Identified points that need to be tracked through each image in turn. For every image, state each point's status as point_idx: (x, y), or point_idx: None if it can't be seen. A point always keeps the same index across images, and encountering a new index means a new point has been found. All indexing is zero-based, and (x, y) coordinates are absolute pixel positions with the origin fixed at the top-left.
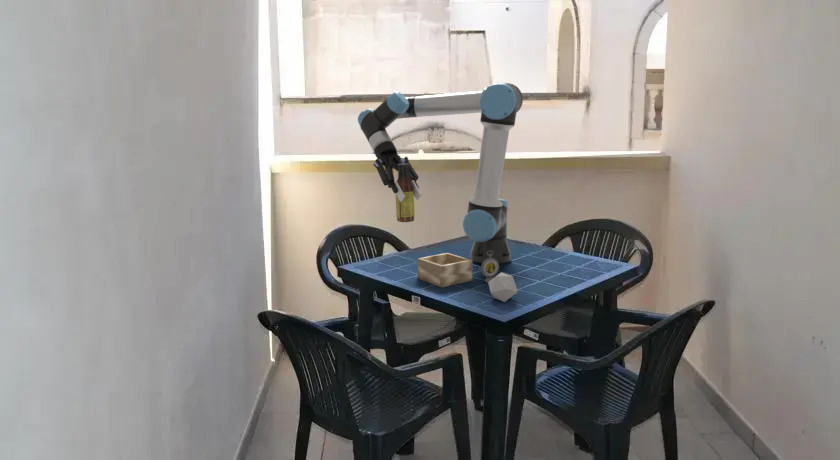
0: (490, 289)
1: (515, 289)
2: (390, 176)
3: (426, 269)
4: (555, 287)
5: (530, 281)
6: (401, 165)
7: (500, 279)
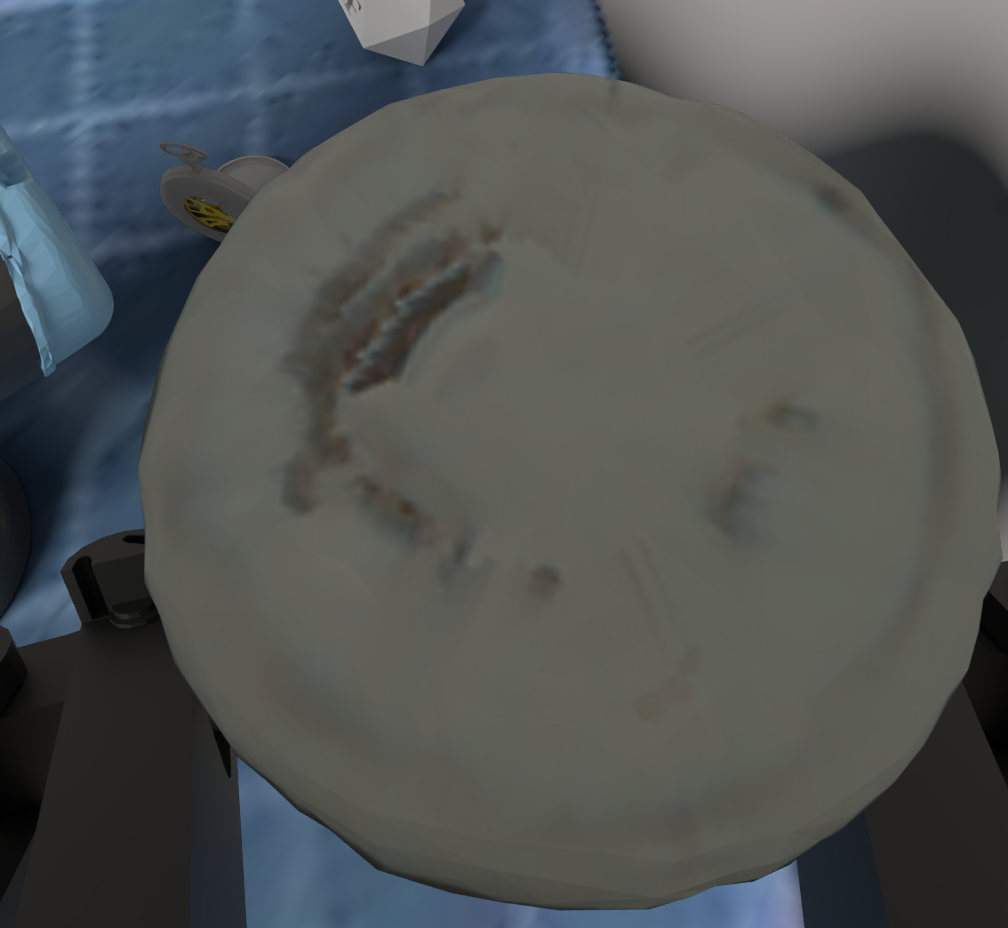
0: (456, 4)
1: None
2: (963, 708)
3: None
4: (110, 32)
5: (115, 136)
6: (836, 224)
7: None
